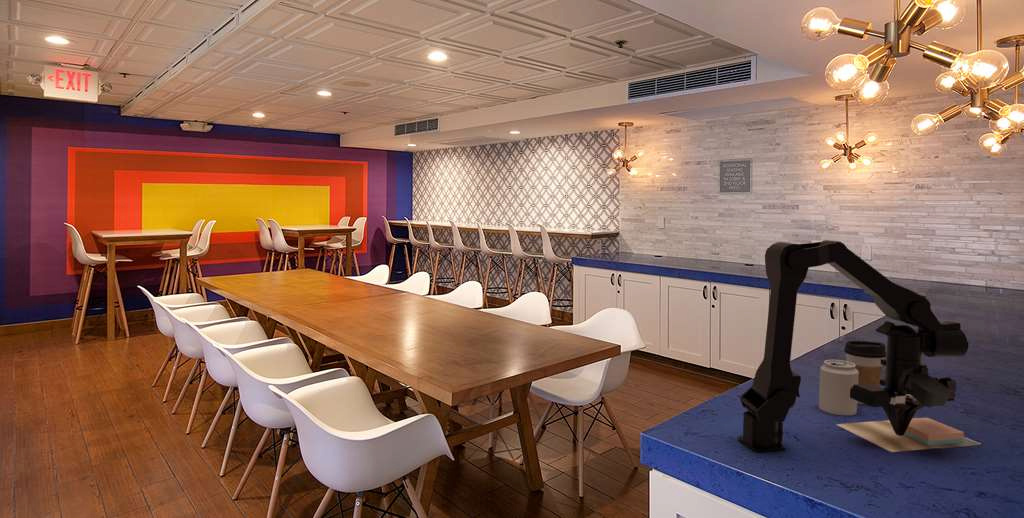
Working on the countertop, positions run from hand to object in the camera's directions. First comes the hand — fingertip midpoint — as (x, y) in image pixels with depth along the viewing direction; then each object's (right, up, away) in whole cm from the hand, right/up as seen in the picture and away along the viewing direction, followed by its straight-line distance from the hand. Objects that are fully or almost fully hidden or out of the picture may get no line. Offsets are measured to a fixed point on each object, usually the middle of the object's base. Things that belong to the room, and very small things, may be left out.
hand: (899, 435), depth 114 cm
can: (-3, -1, +17) cm, 17 cm away
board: (+3, -2, +3) cm, 4 cm away
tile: (+2, 0, +1) cm, 3 cm away
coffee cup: (+7, 0, +23) cm, 24 cm away
